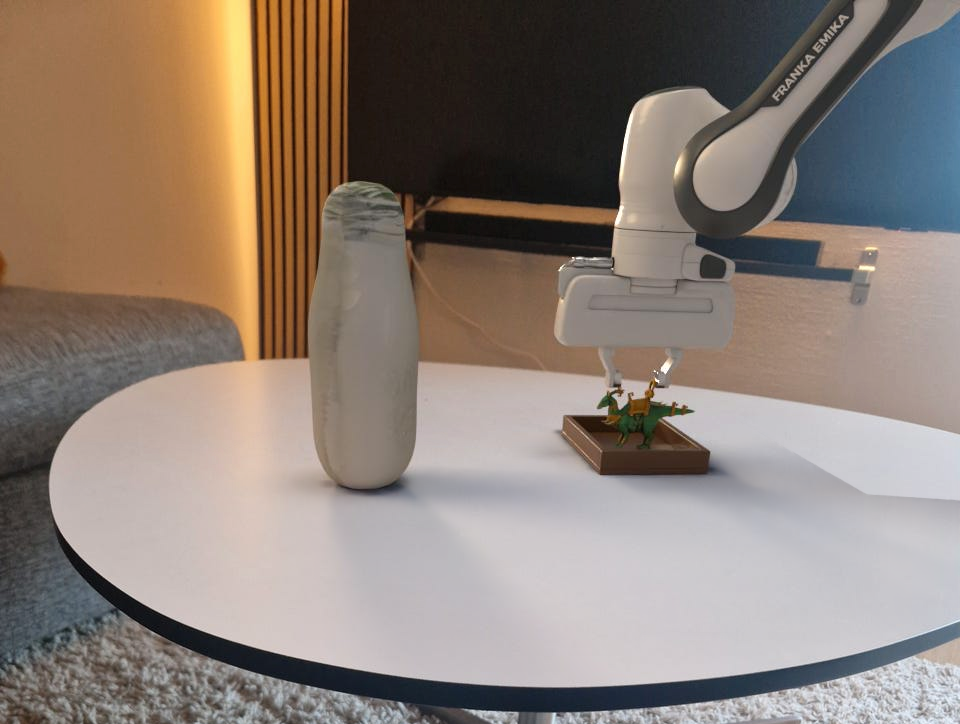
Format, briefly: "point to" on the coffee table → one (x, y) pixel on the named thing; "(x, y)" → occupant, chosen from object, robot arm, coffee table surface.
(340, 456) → the grey tall rounded cylinder
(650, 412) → the figurine
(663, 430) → the walnut tray
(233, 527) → the coffee table surface
